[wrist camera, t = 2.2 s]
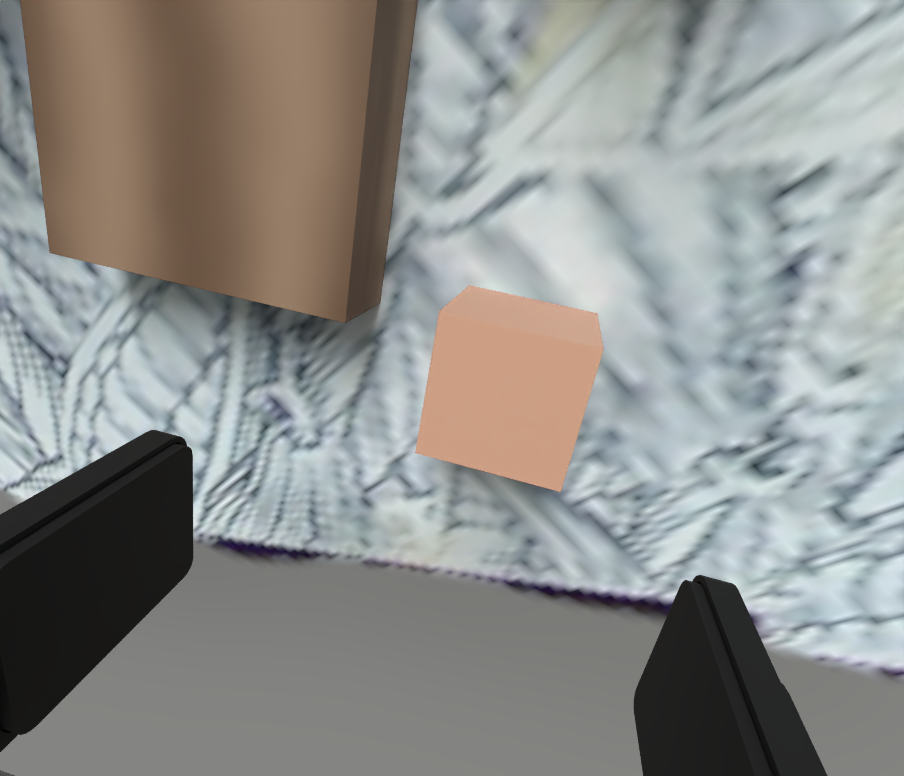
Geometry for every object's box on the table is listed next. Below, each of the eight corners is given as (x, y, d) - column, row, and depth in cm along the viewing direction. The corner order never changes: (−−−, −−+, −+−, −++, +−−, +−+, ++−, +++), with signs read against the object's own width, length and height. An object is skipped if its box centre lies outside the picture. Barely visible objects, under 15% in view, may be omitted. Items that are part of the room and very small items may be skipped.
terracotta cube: (597, 312, 20) (603, 348, 15) (563, 428, 22) (560, 492, 17) (469, 284, 21) (439, 311, 16) (448, 399, 22) (415, 452, 18)
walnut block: (428, -52, 17) (388, -117, 14) (383, 301, 22) (345, 323, 18) (111, -92, 19) (1, -160, 15) (131, 243, 24) (49, 252, 20)
